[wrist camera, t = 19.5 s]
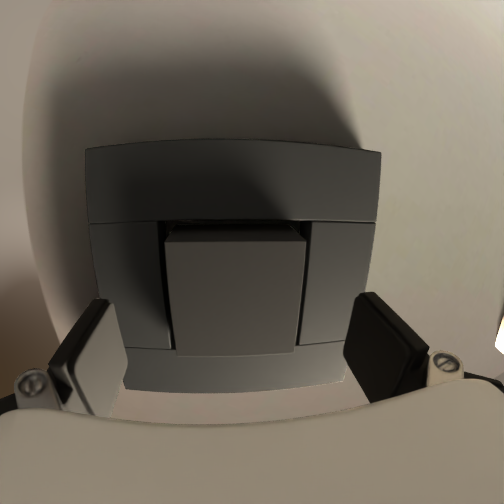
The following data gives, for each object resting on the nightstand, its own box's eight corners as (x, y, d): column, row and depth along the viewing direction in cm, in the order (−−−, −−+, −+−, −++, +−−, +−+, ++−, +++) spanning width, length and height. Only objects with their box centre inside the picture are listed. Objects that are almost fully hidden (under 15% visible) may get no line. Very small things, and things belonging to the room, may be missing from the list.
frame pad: (131, 370, 18) (125, 389, 16) (100, 149, 13) (84, 148, 11) (333, 364, 19) (343, 381, 17) (364, 152, 15) (382, 152, 13)
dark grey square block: (183, 322, 17) (176, 356, 13) (175, 224, 15) (163, 241, 12) (281, 320, 17) (294, 353, 14) (288, 224, 15) (306, 240, 12)
